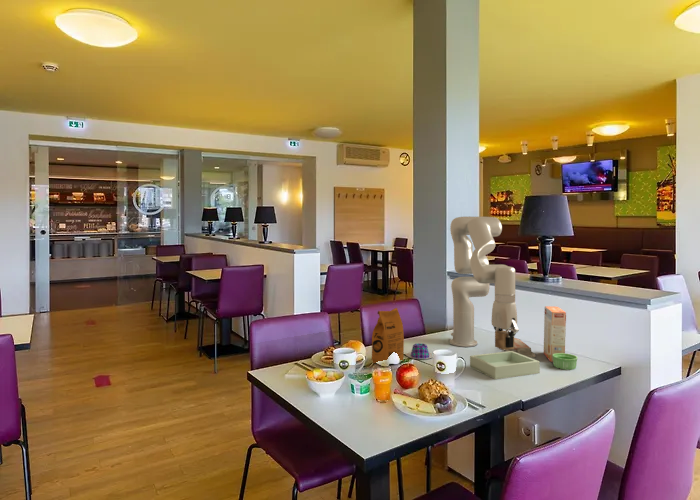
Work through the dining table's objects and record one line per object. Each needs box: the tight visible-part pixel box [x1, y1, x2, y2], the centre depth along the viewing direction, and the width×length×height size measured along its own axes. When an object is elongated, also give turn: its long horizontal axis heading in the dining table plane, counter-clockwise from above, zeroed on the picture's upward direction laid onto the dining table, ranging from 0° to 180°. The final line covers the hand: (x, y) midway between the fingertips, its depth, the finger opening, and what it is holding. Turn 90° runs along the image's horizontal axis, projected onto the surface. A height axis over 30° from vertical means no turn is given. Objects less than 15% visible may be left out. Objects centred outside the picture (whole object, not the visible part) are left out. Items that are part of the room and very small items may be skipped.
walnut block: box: [494, 330, 515, 351], centre depth 182 cm, size 5×5×6 cm
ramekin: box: [552, 352, 578, 371], centre depth 186 cm, size 9×9×4 cm
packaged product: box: [504, 337, 537, 358], centre depth 208 cm, size 18×5×10 cm
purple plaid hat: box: [405, 342, 433, 360], centre depth 203 cm, size 12×12×5 cm
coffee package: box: [371, 307, 405, 364], centre depth 193 cm, size 10×12×22 cm
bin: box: [469, 351, 541, 380], centre depth 182 cm, size 16×20×4 cm
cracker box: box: [543, 305, 567, 363], centre depth 198 cm, size 14×6×21 cm, turn 168°
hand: (504, 345), depth 182 cm, fingers closed on walnut block, 4 cm apart
